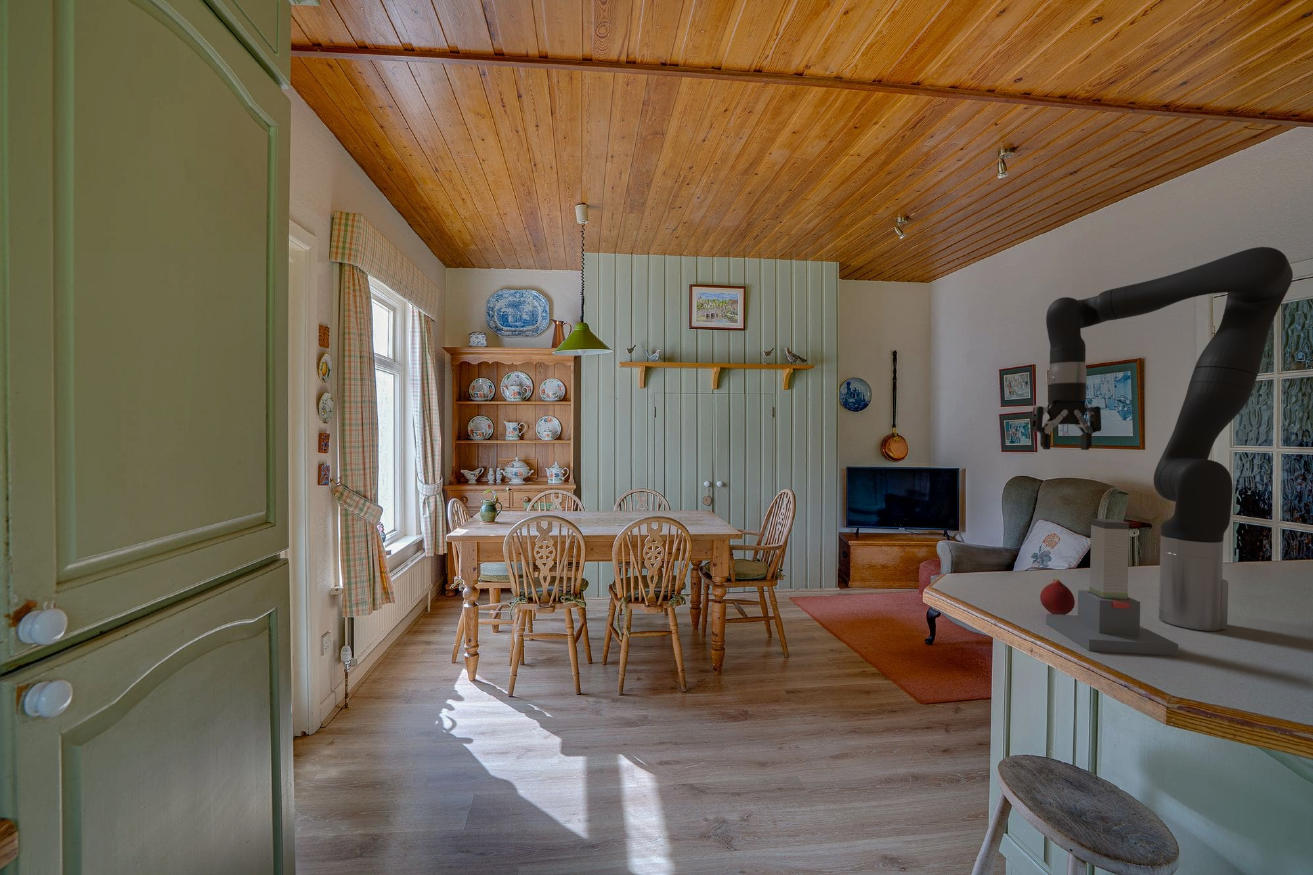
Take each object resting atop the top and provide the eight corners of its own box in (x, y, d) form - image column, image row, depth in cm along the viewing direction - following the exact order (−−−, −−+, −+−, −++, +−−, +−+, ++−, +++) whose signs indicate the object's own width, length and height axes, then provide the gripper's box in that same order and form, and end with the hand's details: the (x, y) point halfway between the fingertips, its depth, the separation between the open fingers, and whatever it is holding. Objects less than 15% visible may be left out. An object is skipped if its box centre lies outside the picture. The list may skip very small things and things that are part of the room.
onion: (1063, 613, 121) (1064, 575, 121) (1080, 622, 115) (1081, 582, 115) (1034, 612, 122) (1035, 574, 122) (1050, 621, 116) (1051, 581, 116)
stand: (1123, 627, 112) (1124, 587, 112) (1178, 655, 98) (1179, 609, 98) (1046, 623, 114) (1046, 583, 114) (1089, 650, 100) (1089, 605, 100)
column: (1113, 594, 108) (1114, 519, 108) (1127, 601, 104) (1129, 522, 104) (1089, 593, 109) (1090, 518, 108) (1103, 600, 105) (1104, 522, 104)
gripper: (1089, 383, 141) (1088, 449, 141) (1027, 383, 143) (1025, 448, 143) (1109, 381, 133) (1107, 450, 133) (1043, 381, 135) (1041, 449, 135)
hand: (1065, 449), depth 138 cm, fingers open, 8 cm apart
